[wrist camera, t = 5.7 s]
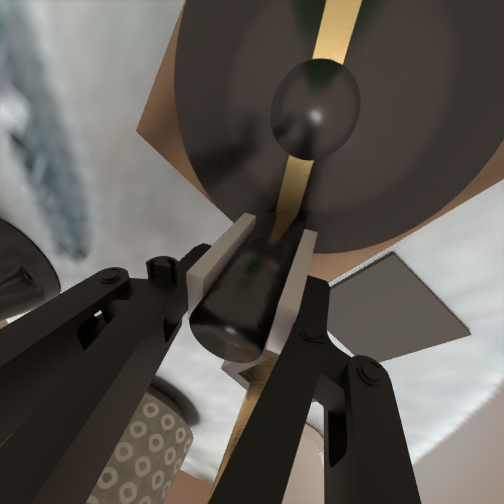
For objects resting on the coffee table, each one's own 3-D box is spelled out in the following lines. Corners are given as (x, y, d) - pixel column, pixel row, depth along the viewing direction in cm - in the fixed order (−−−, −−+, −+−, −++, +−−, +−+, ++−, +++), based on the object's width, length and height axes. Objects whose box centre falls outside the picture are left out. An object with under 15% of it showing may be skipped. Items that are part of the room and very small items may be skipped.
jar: (310, 410, 31) (286, 604, 19) (344, 455, 34) (342, 648, 22) (248, 409, 37) (199, 558, 25) (281, 448, 39) (252, 598, 27)
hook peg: (254, 352, 29) (177, 552, 16) (275, 342, 26) (206, 565, 14) (290, 383, 29) (245, 598, 17) (314, 376, 27) (283, 618, 14)
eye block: (231, 347, 30) (220, 368, 27) (274, 322, 25) (267, 345, 22) (278, 387, 31) (272, 411, 28) (329, 371, 26) (327, 398, 23)
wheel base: (145, 130, 19) (136, 131, 18) (340, -358, 8) (339, -412, 7) (310, 286, 21) (309, 294, 20) (645, 81, 10) (672, 78, 9)
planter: (151, 360, 39) (35, 510, 25) (220, 429, 44) (157, 588, 29) (104, 372, 50) (2, 483, 35) (164, 426, 54) (96, 544, 40)
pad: (302, 303, 22) (301, 306, 22) (392, 251, 17) (393, 254, 17) (365, 362, 23) (366, 366, 23) (469, 330, 18) (471, 334, 18)
